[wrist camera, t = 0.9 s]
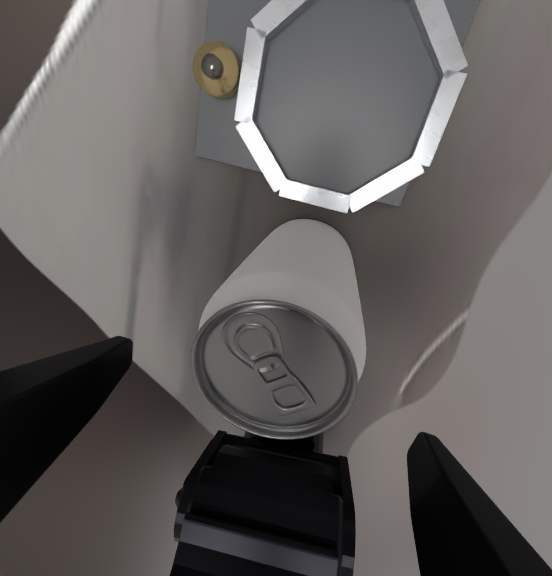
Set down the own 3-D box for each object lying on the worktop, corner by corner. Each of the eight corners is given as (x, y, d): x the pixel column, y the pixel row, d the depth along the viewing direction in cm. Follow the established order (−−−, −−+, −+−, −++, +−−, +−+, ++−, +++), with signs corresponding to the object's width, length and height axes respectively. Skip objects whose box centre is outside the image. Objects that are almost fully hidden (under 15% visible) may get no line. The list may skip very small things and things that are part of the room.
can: (325, 198, 19) (310, 248, 8) (368, 283, 20) (406, 423, 10) (242, 245, 21) (141, 335, 10) (287, 319, 23) (242, 464, 12)
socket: (401, 225, 18) (404, 228, 17) (229, 181, 19) (225, 182, 18) (496, -11, 13) (505, -21, 13) (264, -55, 14) (260, -66, 14)
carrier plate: (398, 205, 18) (399, 207, 18) (197, 155, 19) (194, 155, 19) (480, -8, 14) (485, -13, 14) (218, -57, 15) (215, -64, 15)
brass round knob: (239, 103, 17) (229, 97, 16) (200, 94, 17) (185, 87, 16) (246, 53, 16) (236, 41, 14) (205, 44, 16) (190, 31, 15)
